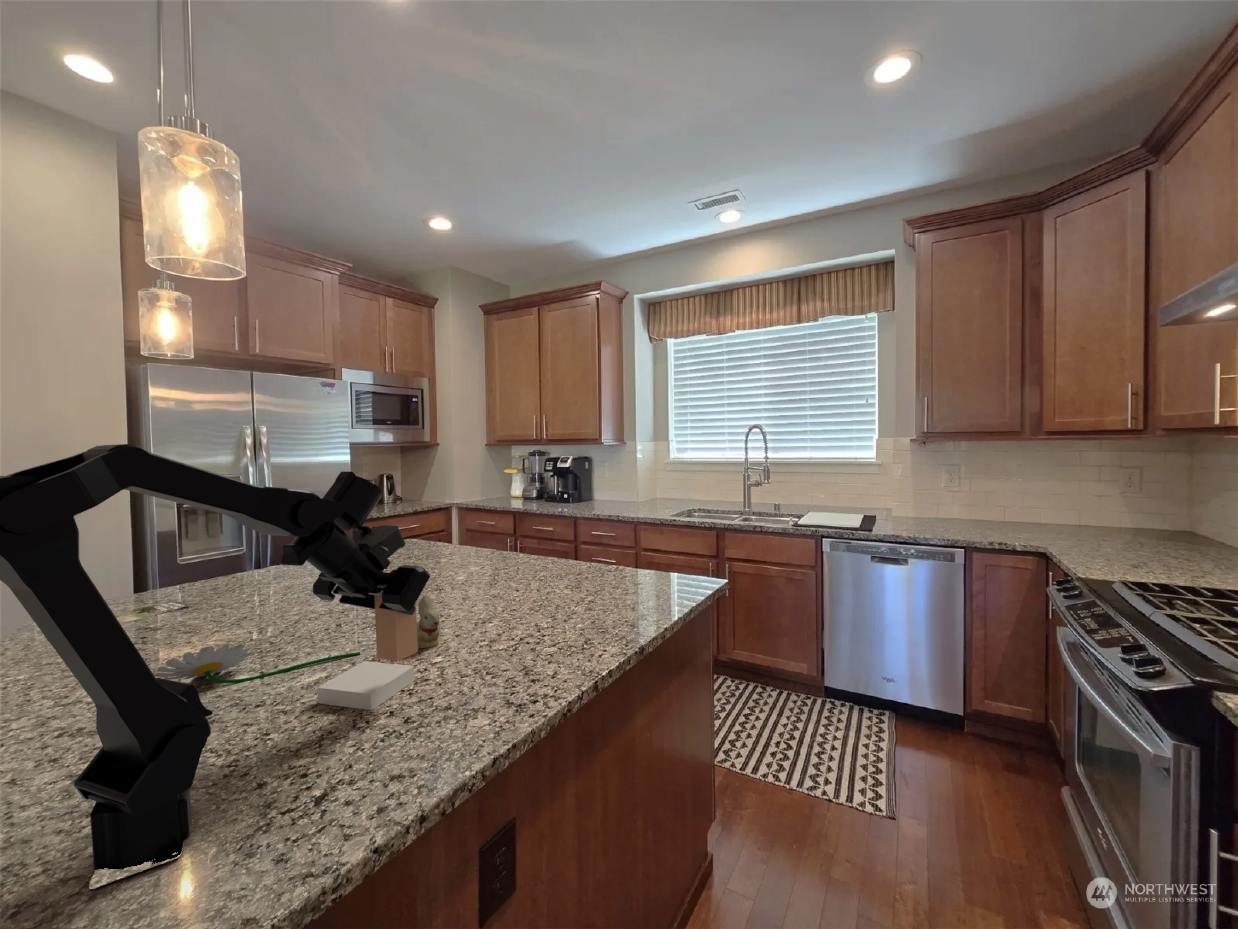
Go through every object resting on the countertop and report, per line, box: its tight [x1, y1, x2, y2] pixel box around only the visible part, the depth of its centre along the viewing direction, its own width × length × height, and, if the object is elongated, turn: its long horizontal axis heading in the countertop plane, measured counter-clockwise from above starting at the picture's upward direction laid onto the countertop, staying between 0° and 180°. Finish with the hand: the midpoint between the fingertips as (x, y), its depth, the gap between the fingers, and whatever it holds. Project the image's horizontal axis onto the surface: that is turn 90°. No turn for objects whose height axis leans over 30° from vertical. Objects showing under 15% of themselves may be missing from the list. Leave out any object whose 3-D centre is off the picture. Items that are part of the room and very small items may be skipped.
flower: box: [155, 643, 361, 684], centre depth 93 cm, size 13×6×30 cm
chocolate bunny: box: [417, 594, 441, 649], centre depth 105 cm, size 6×8×10 cm
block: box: [374, 592, 419, 663], centre depth 82 cm, size 4×4×12 cm
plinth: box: [316, 660, 415, 711], centre depth 85 cm, size 10×10×2 cm
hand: (402, 610), depth 83 cm, fingers closed on block, 4 cm apart
